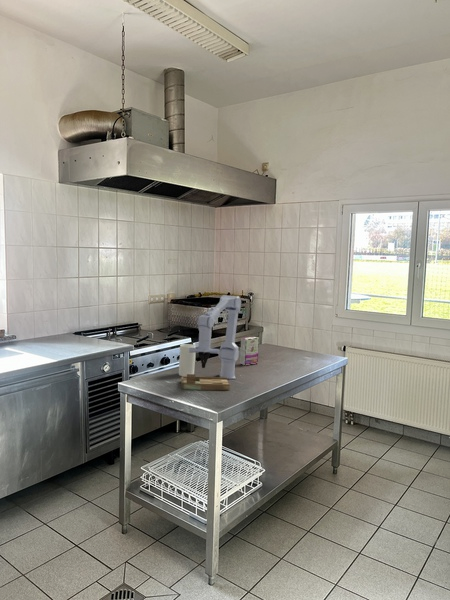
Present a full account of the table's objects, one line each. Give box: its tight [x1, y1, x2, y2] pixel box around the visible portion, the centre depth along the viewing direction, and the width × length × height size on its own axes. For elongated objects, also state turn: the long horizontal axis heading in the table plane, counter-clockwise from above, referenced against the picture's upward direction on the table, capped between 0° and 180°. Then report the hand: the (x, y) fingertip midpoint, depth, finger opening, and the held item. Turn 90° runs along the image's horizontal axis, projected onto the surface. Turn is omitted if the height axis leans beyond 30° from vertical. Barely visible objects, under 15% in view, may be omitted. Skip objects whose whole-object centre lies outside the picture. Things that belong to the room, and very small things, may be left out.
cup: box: [178, 343, 196, 377], centre depth 238 cm, size 8×8×16 cm
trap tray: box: [180, 376, 231, 391], centre depth 219 cm, size 13×23×3 cm, turn 97°
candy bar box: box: [239, 336, 260, 365], centre depth 270 cm, size 11×5×16 cm, turn 131°
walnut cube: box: [187, 373, 197, 383], centre depth 215 cm, size 4×4×4 cm
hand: (203, 367), depth 215 cm, fingers closed
